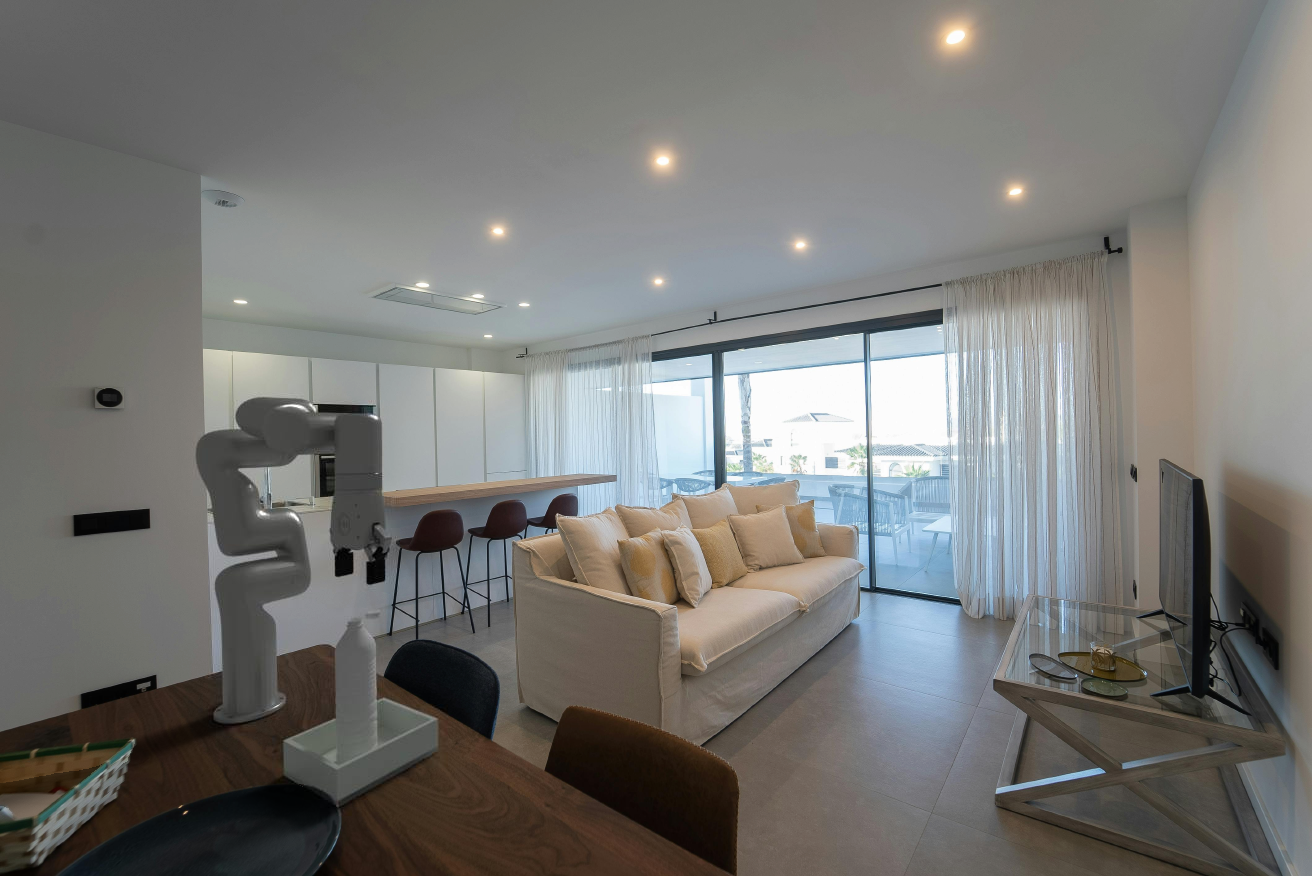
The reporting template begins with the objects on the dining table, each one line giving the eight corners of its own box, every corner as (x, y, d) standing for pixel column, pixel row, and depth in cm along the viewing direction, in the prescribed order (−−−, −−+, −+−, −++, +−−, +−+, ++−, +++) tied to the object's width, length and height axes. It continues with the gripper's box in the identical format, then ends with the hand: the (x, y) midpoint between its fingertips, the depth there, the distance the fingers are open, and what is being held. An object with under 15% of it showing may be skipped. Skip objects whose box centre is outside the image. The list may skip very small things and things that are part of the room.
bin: (283, 775, 99) (283, 740, 99) (384, 727, 115) (384, 697, 115) (337, 807, 90) (336, 769, 90) (438, 751, 106) (437, 718, 106)
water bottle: (358, 773, 97) (355, 626, 97) (327, 767, 99) (325, 623, 99) (394, 746, 106) (392, 610, 106) (366, 741, 108) (363, 608, 107)
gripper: (311, 482, 103) (312, 577, 104) (367, 487, 94) (367, 591, 94) (352, 479, 110) (352, 568, 110) (408, 483, 101) (408, 581, 101)
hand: (359, 579), depth 102 cm, fingers open, 9 cm apart
